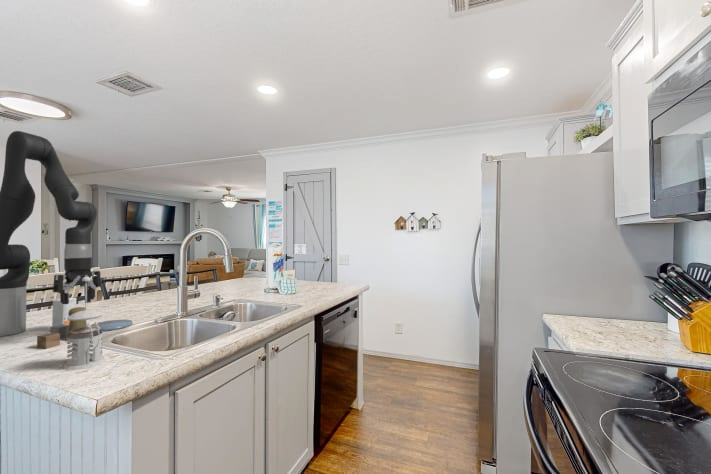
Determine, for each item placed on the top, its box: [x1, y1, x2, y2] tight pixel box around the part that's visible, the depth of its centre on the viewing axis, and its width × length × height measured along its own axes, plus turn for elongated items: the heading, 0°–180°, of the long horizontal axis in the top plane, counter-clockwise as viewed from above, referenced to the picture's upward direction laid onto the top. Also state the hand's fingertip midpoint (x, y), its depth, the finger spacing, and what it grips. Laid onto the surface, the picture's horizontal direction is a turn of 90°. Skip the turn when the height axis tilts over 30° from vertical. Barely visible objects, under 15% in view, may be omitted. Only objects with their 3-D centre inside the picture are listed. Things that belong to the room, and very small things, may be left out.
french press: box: [62, 277, 107, 371], centre depth 93 cm, size 10×12×25 cm
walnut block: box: [36, 332, 61, 350], centre depth 107 cm, size 4×4×4 cm
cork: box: [66, 306, 88, 341], centre depth 116 cm, size 6×6×11 cm
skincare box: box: [51, 297, 77, 327], centre depth 126 cm, size 6×4×12 cm
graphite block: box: [49, 324, 69, 339], centre depth 117 cm, size 4×4×4 cm
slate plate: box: [88, 319, 133, 332], centre depth 131 cm, size 14×14×1 cm
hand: (78, 301), depth 116 cm, fingers open, 8 cm apart
